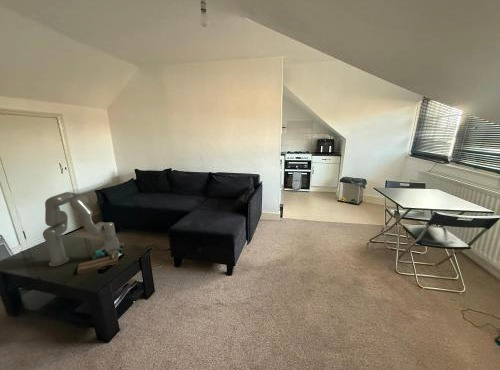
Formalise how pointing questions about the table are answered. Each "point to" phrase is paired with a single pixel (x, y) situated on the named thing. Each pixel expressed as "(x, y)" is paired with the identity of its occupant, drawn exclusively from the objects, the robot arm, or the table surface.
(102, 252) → the alien figure
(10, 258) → the table surface
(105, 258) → the board
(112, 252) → the mallet
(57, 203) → the robot arm
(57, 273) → the table surface
